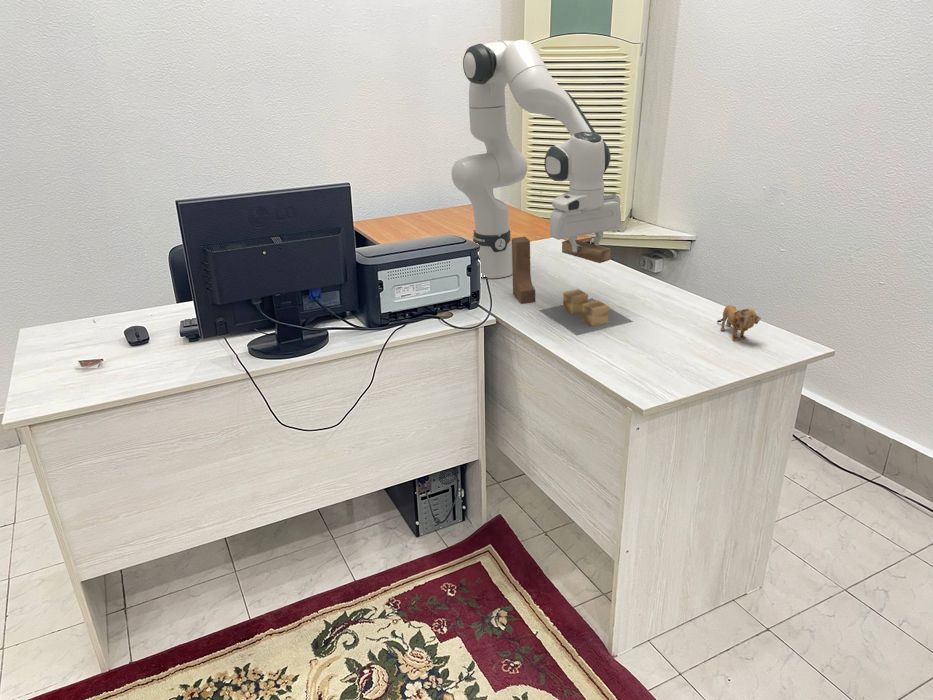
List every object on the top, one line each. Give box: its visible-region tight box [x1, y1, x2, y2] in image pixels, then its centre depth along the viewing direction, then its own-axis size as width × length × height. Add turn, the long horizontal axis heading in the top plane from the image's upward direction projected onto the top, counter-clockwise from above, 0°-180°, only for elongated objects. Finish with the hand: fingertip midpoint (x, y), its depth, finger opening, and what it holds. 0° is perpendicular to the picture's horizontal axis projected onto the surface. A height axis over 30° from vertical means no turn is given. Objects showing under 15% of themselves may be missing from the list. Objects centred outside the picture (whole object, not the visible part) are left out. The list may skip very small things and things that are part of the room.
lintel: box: [561, 239, 612, 264], centre depth 181 cm, size 4×14×3 cm, turn 36°
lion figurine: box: [716, 304, 761, 342], centre depth 173 cm, size 15×5×9 cm, turn 15°
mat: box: [538, 297, 634, 336], centre depth 190 cm, size 20×18×1 cm
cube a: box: [562, 288, 589, 315], centre depth 193 cm, size 5×5×5 cm
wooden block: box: [511, 236, 536, 305], centre depth 201 cm, size 9×4×18 cm, turn 13°
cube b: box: [582, 299, 610, 327], centre depth 185 cm, size 5×5×5 cm
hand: (585, 249), depth 181 cm, fingers closed on lintel, 4 cm apart
